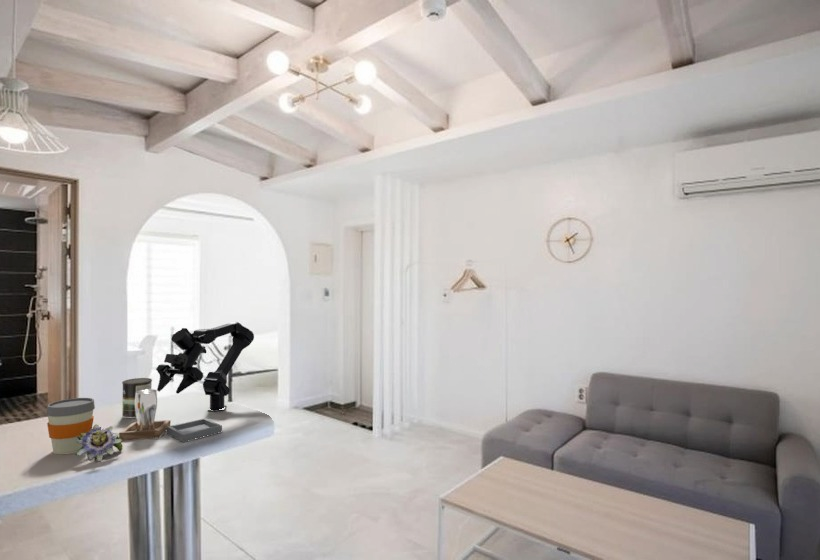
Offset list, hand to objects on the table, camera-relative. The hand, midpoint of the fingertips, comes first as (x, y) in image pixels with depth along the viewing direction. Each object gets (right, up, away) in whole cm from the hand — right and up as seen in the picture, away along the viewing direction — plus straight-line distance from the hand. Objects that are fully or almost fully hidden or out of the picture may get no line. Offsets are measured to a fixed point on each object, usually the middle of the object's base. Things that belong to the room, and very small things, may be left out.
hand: (167, 392), depth 168 cm
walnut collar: (-4, -13, -7) cm, 15 cm away
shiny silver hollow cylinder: (-4, -13, -7) cm, 15 cm away
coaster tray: (+13, -13, -7) cm, 20 cm away
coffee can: (-20, -13, +15) cm, 29 cm away
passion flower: (-6, -13, -29) cm, 32 cm away
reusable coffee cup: (-19, -13, -23) cm, 32 cm away
